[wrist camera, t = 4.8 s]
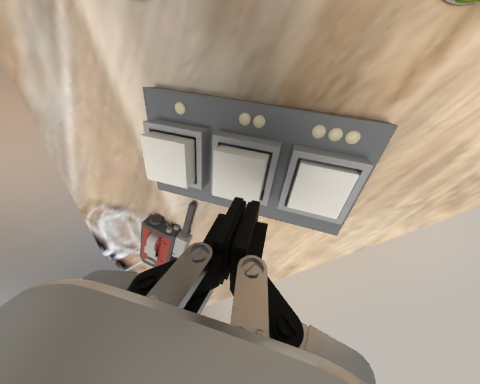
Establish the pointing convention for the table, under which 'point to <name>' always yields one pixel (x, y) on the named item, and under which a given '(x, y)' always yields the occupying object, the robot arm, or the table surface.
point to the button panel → (268, 146)
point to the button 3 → (321, 187)
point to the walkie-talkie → (164, 239)
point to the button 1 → (169, 158)
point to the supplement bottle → (462, 1)
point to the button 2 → (238, 173)
